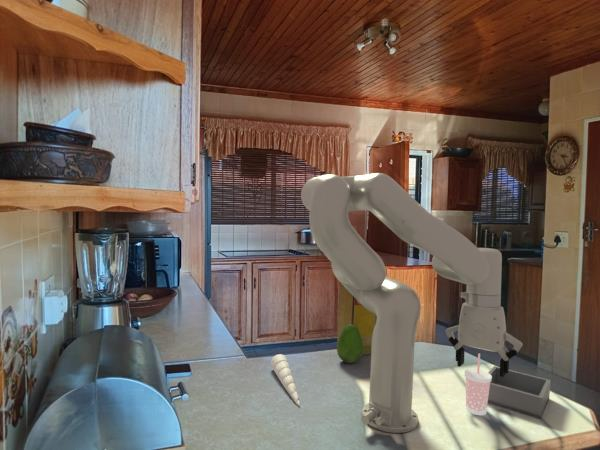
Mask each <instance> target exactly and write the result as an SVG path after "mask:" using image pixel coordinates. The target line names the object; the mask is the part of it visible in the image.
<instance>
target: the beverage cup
mask: <svg viewBox="0 0 600 450" xmlns="http://www.w3.org/2000/svg"><path fill="white" fill-rule="evenodd" d="M480 365H481V352H480V353H477V365H476V366H477V368H476V369H474V368H469V369H466V370H464V377H465V410H466V411H467V412H468V413H470V414H472V415H477V416H485V415H486V414H487V410H488V404H489V403H488V396H489V388H490V382H491V381H492V380H491V379H492V376H491V375H490V374H489V373H488V372H487V371H484V370H482V369H480V368H481V367H480Z"/></svg>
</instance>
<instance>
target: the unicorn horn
mask: <svg viewBox="0 0 600 450" xmlns="http://www.w3.org/2000/svg"><path fill="white" fill-rule="evenodd" d="M270 366H271V368H272V370H273V371H274V373H275V374H276V376H277V378H278V379H279V381H280V382H281V384H282V386H283V387H284V389H285V391H286V392H287V393H288V395H289V396H290V397H291V399H292V400H293V402H294V403H295V404H296V405H297V406H298V407H301V402H300V398H299V397H300V396H299V395H298V391H297V387H296V385H295V381H294V377H293V374H292V372H291V368H290V365H289V362H288V359H287V357H286V355H284V354H281V353H279V354H275V355H274V356H273V357H272V358H271V359H270Z"/></svg>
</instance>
